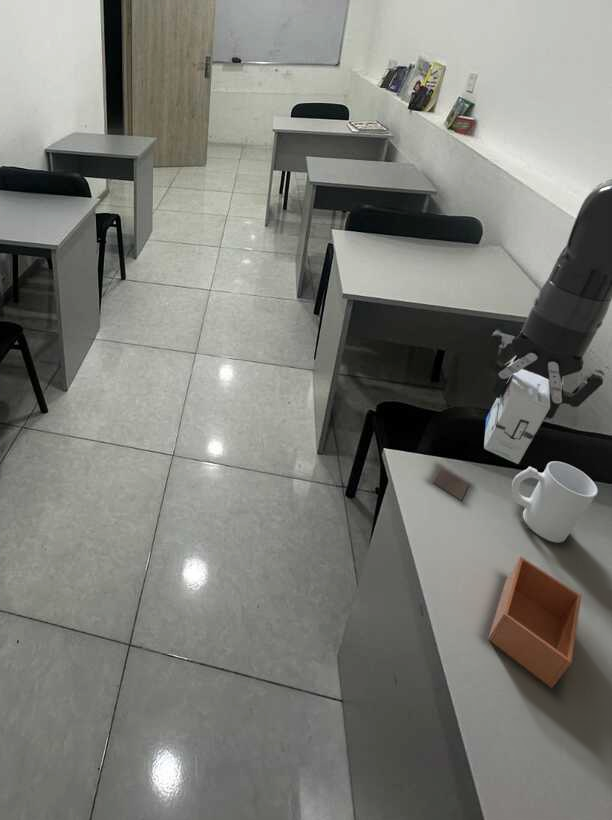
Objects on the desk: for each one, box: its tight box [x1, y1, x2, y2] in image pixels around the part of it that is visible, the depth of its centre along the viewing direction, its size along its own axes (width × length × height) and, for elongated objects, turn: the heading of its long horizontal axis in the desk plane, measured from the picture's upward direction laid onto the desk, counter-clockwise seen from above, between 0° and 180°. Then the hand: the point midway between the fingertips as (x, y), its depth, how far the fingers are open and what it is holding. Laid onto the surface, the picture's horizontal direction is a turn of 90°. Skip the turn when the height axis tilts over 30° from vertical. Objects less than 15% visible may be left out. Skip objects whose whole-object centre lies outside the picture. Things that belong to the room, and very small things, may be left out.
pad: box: [432, 467, 470, 502], centre depth 91 cm, size 5×5×1 cm
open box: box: [487, 555, 582, 689], centre depth 68 cm, size 7×11×6 cm, turn 135°
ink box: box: [483, 368, 551, 465], centre depth 75 cm, size 9×5×12 cm, turn 145°
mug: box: [511, 460, 599, 543], centre depth 83 cm, size 10×7×12 cm, turn 60°
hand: (519, 405), depth 75 cm, fingers closed on ink box, 5 cm apart
